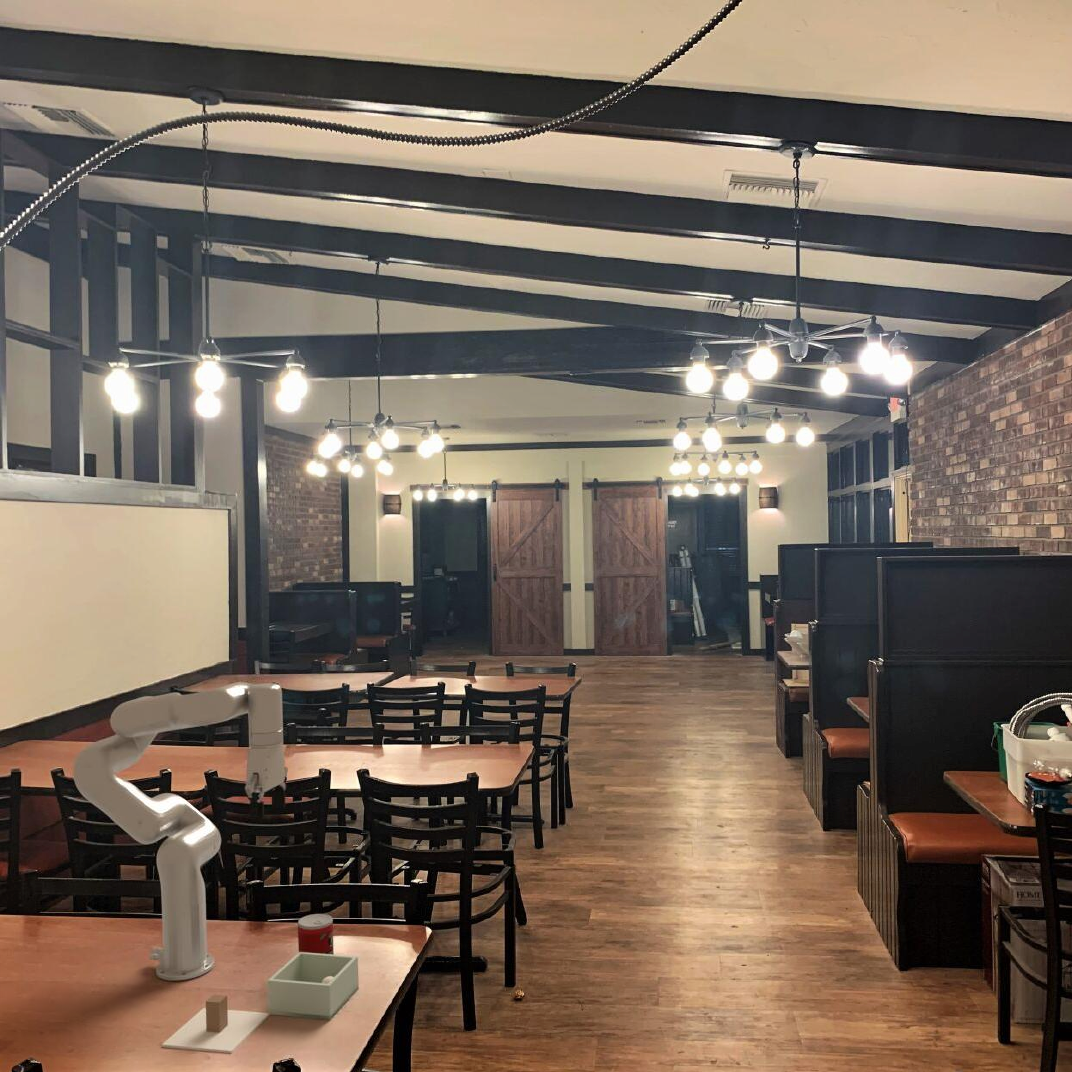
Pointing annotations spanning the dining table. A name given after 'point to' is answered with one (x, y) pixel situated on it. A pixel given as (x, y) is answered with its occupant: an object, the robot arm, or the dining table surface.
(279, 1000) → the box
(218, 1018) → the lid
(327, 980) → the ball cream
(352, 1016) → the dining table surface
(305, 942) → the canned food
